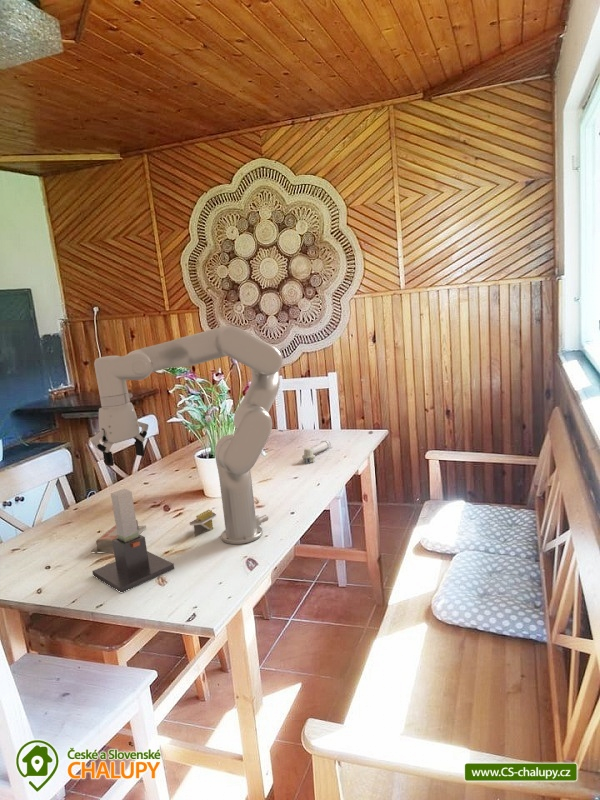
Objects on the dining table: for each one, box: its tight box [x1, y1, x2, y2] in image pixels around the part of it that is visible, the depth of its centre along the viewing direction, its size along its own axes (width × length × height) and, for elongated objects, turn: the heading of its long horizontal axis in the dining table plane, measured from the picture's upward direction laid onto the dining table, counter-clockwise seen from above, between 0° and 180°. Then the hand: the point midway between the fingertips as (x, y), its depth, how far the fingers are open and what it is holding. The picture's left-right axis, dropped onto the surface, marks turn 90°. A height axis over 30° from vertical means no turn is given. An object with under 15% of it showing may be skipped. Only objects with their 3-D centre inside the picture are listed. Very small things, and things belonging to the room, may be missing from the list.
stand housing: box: [92, 534, 175, 593], centre depth 158 cm, size 16×16×10 cm
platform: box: [189, 509, 217, 537], centre depth 182 cm, size 12×18×7 cm, turn 148°
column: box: [110, 488, 139, 544], centre depth 156 cm, size 4×4×16 cm
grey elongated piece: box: [302, 440, 331, 464], centre depth 255 cm, size 5×7×25 cm
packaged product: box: [90, 519, 147, 554], centre depth 182 cm, size 18×5×10 cm
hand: (125, 460), depth 162 cm, fingers open, 9 cm apart
